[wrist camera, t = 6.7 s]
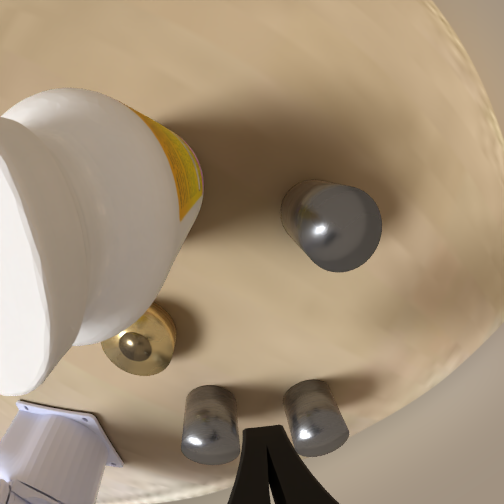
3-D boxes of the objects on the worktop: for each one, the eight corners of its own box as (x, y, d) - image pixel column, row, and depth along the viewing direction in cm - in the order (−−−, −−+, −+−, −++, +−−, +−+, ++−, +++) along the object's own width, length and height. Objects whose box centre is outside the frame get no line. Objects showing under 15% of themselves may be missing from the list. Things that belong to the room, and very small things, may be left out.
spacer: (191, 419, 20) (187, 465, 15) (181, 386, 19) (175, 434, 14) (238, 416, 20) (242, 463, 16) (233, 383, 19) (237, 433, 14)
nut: (120, 357, 18) (112, 376, 16) (103, 299, 16) (90, 315, 14) (182, 355, 18) (179, 376, 16) (169, 295, 17) (163, 312, 15)
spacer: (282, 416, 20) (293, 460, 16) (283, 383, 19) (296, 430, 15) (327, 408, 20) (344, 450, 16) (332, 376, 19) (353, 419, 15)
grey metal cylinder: (281, 246, 16) (302, 276, 12) (279, 180, 15) (300, 187, 11) (342, 242, 17) (379, 268, 12) (342, 179, 16) (382, 186, 11)
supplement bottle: (114, 111, 13) (-81, 44, 1) (225, 152, 15) (228, 87, 2) (76, 224, 15) (-101, 332, 3) (178, 266, 16) (103, 479, 4)
